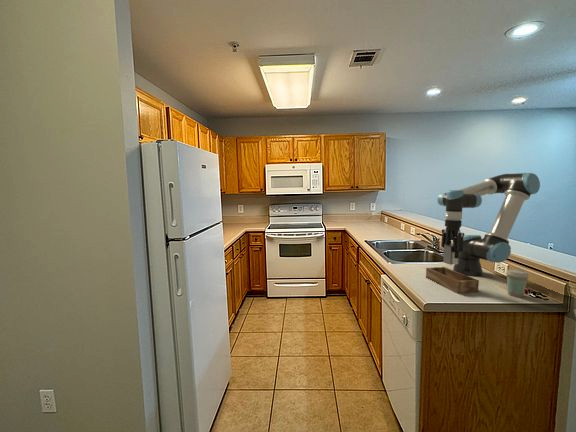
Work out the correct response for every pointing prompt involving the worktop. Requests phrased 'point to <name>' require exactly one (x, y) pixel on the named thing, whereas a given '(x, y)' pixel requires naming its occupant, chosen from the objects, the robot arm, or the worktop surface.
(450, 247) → the dark grey block
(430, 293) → the worktop surface
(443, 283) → the wooden box
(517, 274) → the coffee cup
